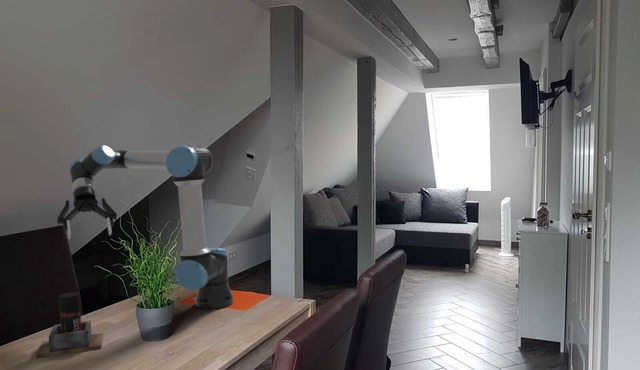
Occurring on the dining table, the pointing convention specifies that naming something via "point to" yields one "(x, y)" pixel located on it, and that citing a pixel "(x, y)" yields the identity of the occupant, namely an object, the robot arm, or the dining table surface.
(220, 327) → the dining table surface
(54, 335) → the holder
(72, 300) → the deodorant
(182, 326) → the dining table surface
